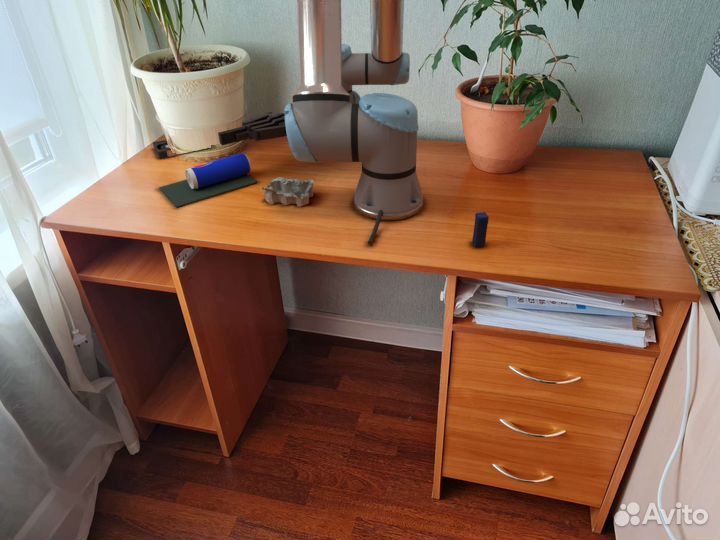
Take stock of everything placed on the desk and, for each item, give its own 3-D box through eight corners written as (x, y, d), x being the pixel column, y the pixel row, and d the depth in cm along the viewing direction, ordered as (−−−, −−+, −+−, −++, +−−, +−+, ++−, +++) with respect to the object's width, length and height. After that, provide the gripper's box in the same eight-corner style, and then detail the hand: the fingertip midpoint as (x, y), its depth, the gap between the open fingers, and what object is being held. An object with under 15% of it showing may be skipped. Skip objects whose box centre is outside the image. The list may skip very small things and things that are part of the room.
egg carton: (261, 204, 118) (259, 187, 116) (274, 189, 124) (272, 173, 122) (306, 208, 116) (304, 191, 113) (317, 193, 122) (315, 176, 119)
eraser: (482, 241, 103) (485, 210, 99) (485, 247, 101) (489, 216, 97) (471, 242, 103) (474, 211, 99) (474, 248, 101) (478, 217, 97)
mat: (236, 166, 135) (235, 165, 134) (257, 183, 127) (256, 181, 126) (159, 188, 125) (159, 187, 125) (176, 207, 117) (176, 206, 117)
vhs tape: (159, 159, 140) (157, 152, 139) (154, 149, 146) (152, 142, 145) (212, 148, 145) (210, 141, 144) (205, 139, 151) (203, 132, 150)
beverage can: (245, 149, 127) (186, 165, 120) (254, 168, 127) (195, 185, 120) (241, 157, 132) (183, 173, 125) (249, 175, 132) (192, 193, 125)
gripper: (321, 138, 131) (234, 163, 120) (295, 124, 140) (212, 145, 129) (319, 108, 127) (228, 131, 116) (292, 96, 135) (206, 116, 125)
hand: (220, 139), depth 122 cm, fingers closed
